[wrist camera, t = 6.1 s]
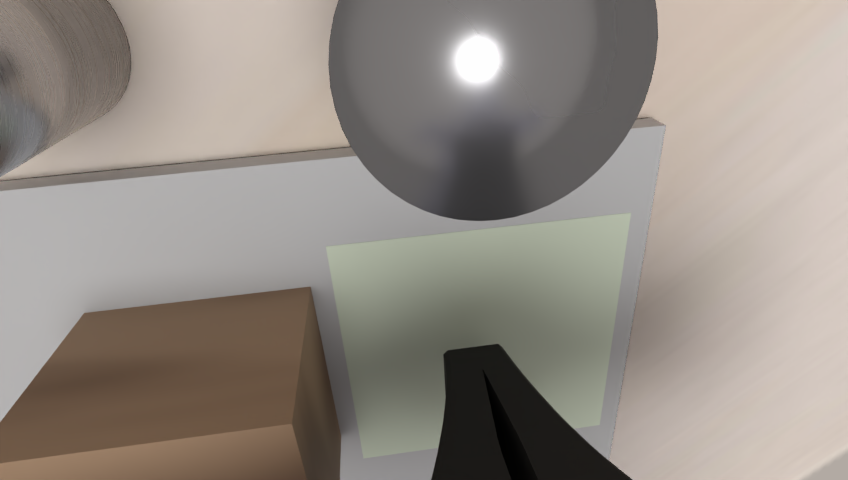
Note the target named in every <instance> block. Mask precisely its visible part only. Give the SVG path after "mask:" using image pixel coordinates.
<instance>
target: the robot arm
mask: <svg viewBox="0 0 848 480" xmlns="http://www.w3.org/2000/svg"><path fill="white" fill-rule="evenodd" d="M443 358H444V377H445V395H446V399H445V409H444V418H443V425H442V431H441V436H440V442H439V447H438V452H437V457H436V461H435V466H434V470H433V474H432V478H431V480H632V479H631V478H630V477H628V476H627V475H626V474H625V473H623V472H622V471H621V470H619V469H618V468H617V467H616V466H615V465H613V464H612V463H611V462H610V461H609V460H608V459H606V458H605V457H604V456H603V455H602V454H600V453H599V452H598V451H597V450H596V449H595V448H594V447H593V446H591V445H590V444H589V443H588V442H587V441H586V440H585V439H584V438H583V437H582V436H581V435H580V434H579V433H578V432H577V431H576V430H575V429H573V428H572V427H571V426H570V425H569V424H568V423H567V422H566V421H565V420H564V419H563V418H562V417H561V416H560V415H559V414H558V412H557V411H556V410H555V409H554V408H553V407H552V406H551V405H550V404H549V403H548V402H547V401H546V400H545V398H544V397H543V396H542V395H541V394H540V393H539V392H538V391H537V390H536V388H535V387H534V386H533V385H532V384H531V383H530V382H529V380H528V379H527V378H526V377H525V376H524V374H523V373H522V372H521V371H520V369H519V368H518V367H517V366H516V364H515V363H514V362H513V361H512V359H511V358H510V357H509V355H508V354H507V353H506V351H505V350H504V349H503V347H502V346H500V345H499V344H492V345H484V346H477V347H469V348H461V349H453V350H447V351H446V352H445V353H444V354H443Z"/></svg>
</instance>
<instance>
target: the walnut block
mask: <svg viewBox="0 0 848 480" xmlns="http://www.w3.org/2000/svg"><path fill="white" fill-rule="evenodd" d="M340 459H341V433H340V428H339V423H338V418H337V413H336V409H335V404H334V399H333V394H332V389H331V384H330V379H329V374H328V369H327V364H326V359H325V355H324V350H323V345H322V340H321V335H320V330H319V325H318V320H317V315H316V310H315V306H314V301H313V296H312V291H311V287H302V288H294V289H285V290H277V291H268V292H259V293H251V294H242V295H234V296H225V297H217V298H208V299H199V300H191V301H182V302H174V303H165V304H156V305H148V306H139V307H131V308H122V309H114V310H105V311H96V312H88V313H84V314H83V315H82V316H81V318H80V319H79V320H78V322H77V323H76V324H75V326H74V327H73V328H72V329H71V331H70V332H69V333H68V335H67V336H66V337H65V339H64V340H63V341H62V342H61V344H60V345H59V346H58V348H57V349H56V350H55V352H54V353H53V354H52V355H51V357H50V358H49V359H48V361H47V362H46V363H45V365H44V366H43V367H42V368H41V370H40V371H39V372H38V374H37V375H36V376H35V378H34V379H33V380H32V381H31V383H30V384H29V385H28V387H27V388H26V389H25V391H24V392H23V393H22V394H21V396H20V397H19V398H18V400H17V401H16V402H15V404H14V405H13V406H12V407H11V409H10V410H9V411H8V413H7V414H6V415H5V417H4V418H3V419H2V420H1V422H0V480H340Z"/></svg>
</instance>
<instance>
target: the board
mask: <svg viewBox="0 0 848 480" xmlns="http://www.w3.org/2000/svg"><path fill="white" fill-rule="evenodd" d="M665 128H666V125H664V124H662V123H661V122H659V121H657V120H655V119H653V118H645V119H636V121H635V122H634V124H633V126H632V127H631V129H630V131H629V132H628V134H627V136H626V138H625V139H624V140H623V142H622V143H621V145H620V146H619V147H618V149H617V150H616V151H615V153H614V154H613V155H612V156H611V157H610V159H609V160H608V161H607V162H606V163H605V164H604V165H603V166H602V167H601V168H600V169H599V170H598V171H597V172H596V173H595V174H594V175H593V176H592V177H590V178H589V179H588V180H587V181H586V182H585V183H584V184H582V185H581V186H579V187H578V188H577V189H575V190H574V191H572V192H571V193H570V194H568V195H567V196H565V197H563V198H561V199H559V200H558V201H556V202H554V203H552V204H550V205H548V206H546V207H543V208H541V209H538V210H536V211H534V212H531V213H527V214H524V215H520V216H517V217H513V218H507V219H501V220H492V221H467V220H457V219H452V218H447V217H442V216H438V215H435V214H432V213H429V212H426V211H423V210H421V209H419V208H417V207H415V206H413V205H411V204H409V203H407V202H405V201H404V200H402V199H401V198H399V197H398V196H396V195H395V194H393V193H391V192H390V191H389V190H388V189H387V188H386V187H384V186H383V185H382V184H381V183H380V182H379V181H377V180H376V179H375V178H374V176H373V175H372V174H371V173H370V172H369V171H368V170H367V169H366V168H365V166H364V165H363V164H362V162H361V161H360V159H359V158H358V157H357V155H356V154H355V152H354V151H353V149H352V148H351V147H347V148H337V149H326V150H316V151H306V152H296V153H285V154H275V155H265V156H255V157H244V158H234V159H224V160H213V161H203V162H193V163H183V164H172V165H162V166H152V167H142V168H131V169H121V170H111V171H101V172H90V173H80V174H70V175H60V176H49V177H39V178H29V179H18V180H8V181H0V422H1V420H2V419H3V418H4V417H5V415H6V414H7V413H8V411H9V410H10V409H11V407H12V406H13V405H14V404H15V402H16V401H17V400H18V398H19V397H20V396H21V394H22V393H23V392H24V391H25V389H26V388H27V387H28V385H29V384H30V383H31V381H32V380H33V379H34V378H35V376H36V375H37V374H38V372H39V371H40V370H41V368H42V367H43V366H44V365H45V363H46V362H47V361H48V359H49V358H50V357H51V355H52V354H53V353H54V352H55V350H56V349H57V348H58V346H59V345H60V344H61V342H62V341H63V340H64V339H65V337H66V336H67V335H68V333H69V332H70V331H71V329H72V328H73V327H74V326H75V324H76V323H77V322H78V320H79V319H80V318H81V316H82V315H83V314H84V313H88V312H96V311H105V310H114V309H122V308H131V307H139V306H148V305H156V304H165V303H174V302H182V301H191V300H199V299H208V298H217V297H225V296H234V295H242V294H251V293H259V292H268V291H277V290H285V289H294V288H302V287H311V291H312V296H313V301H314V306H315V310H316V315H317V320H318V325H319V330H320V335H321V340H322V345H323V350H324V355H325V359H326V364H327V369H328V374H329V379H330V384H331V389H332V394H333V399H334V404H335V409H336V413H337V418H338V423H339V428H340V433H341V459H340V480H431V478H432V474H433V470H434V466H435V461H436V457H437V452H438V447H439V442H440V436H441V431H442V425H443V418H444V409H445V399H446V395H445V377H444V358H443V354H444V353H445V352H446V351H447V350H453V349H461V348H469V347H477V346H484V345H492V344H499V345H500V346H502V347H503V349H504V350H505V351H506V353H507V354H508V355H509V357H510V358H511V359H512V361H513V362H514V363H515V364H516V366H517V367H518V368H519V369H520V371H521V372H522V373H523V374H524V376H525V377H526V378H527V379H528V380H529V382H530V383H531V384H532V385H533V386H534V387H535V388H536V390H537V391H538V392H539V393H540V394H541V395H542V396H543V397H544V398H545V400H546V401H547V402H548V403H549V404H550V405H551V406H552V407H553V408H554V409H555V410H556V411H557V412H558V414H559V415H560V416H561V417H562V418H563V419H564V420H565V421H566V422H567V423H568V424H569V425H570V426H571V427H572V428H573V429H575V430H576V431H577V432H578V433H579V434H580V435H581V436H582V437H583V438H584V439H585V440H586V441H587V442H588V443H589V444H590V445H591V446H593V447H594V448H595V449H596V450H597V451H598V452H599V453H600V454H602V455H603V456H604V457H605V458H606V459H608V460H609V458H610V452H611V446H612V440H613V435H614V429H615V423H616V417H617V411H618V405H619V399H620V393H621V387H622V381H623V376H624V370H625V364H626V358H627V352H628V346H629V340H630V334H631V328H632V322H633V316H634V311H635V305H636V299H637V293H638V287H639V281H640V275H641V269H642V263H643V257H644V252H645V246H646V240H647V234H648V228H649V222H650V216H651V210H652V204H653V198H654V193H655V187H656V181H657V175H658V169H659V163H660V157H661V151H662V145H663V139H664V134H665Z"/></svg>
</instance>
